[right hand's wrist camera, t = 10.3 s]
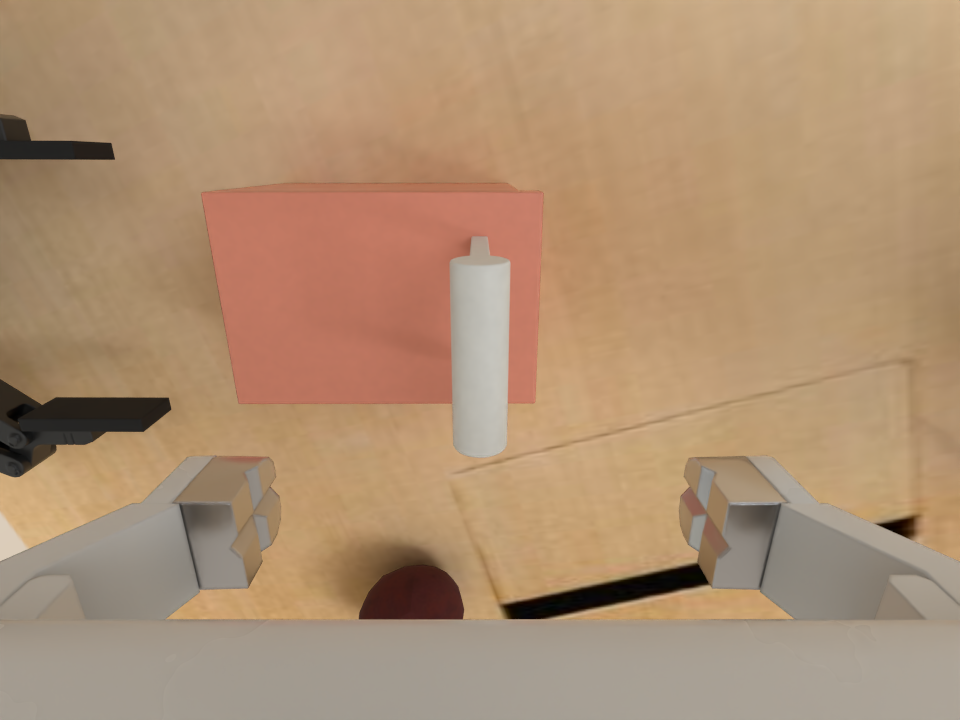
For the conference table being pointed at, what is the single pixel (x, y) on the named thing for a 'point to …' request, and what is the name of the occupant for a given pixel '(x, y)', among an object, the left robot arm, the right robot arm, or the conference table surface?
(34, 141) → the left robot arm
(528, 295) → the pink board with handle
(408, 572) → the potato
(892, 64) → the conference table surface
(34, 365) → the conference table surface
